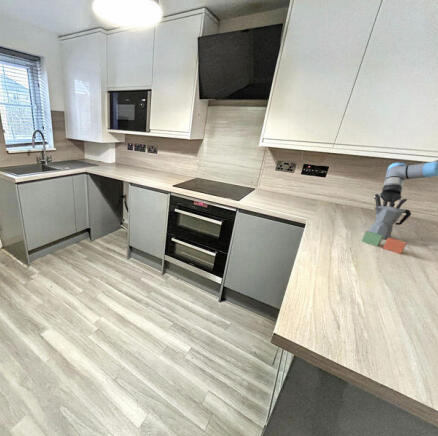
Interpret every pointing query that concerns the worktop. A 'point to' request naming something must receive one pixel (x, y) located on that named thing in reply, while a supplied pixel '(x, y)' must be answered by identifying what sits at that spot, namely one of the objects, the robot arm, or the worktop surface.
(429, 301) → the worktop surface
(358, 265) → the worktop surface
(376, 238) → the pair of rectangular blocks
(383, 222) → the coffeepot
